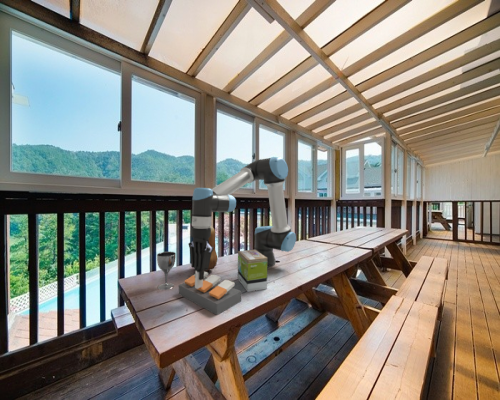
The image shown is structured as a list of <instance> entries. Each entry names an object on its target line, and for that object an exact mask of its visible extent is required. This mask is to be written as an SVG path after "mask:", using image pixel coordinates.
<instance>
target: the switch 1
mask: <svg viewBox="0 0 500 400" xmlns="http://www.w3.org/2000/svg"><path fill="white" fill-rule="evenodd" d="M205 277H207V278H208V277H209V272H208V271H207V272H205V271H204V278H205ZM183 283H185V284H187V285H189V286H194V285H195V273H194V274H192V275H191V276H190V277H188V278H186V279H185V280H184V281H183Z"/></svg>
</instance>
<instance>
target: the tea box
mask: <svg viewBox="0 0 500 400" xmlns="http://www.w3.org/2000/svg"><path fill="white" fill-rule="evenodd" d="M237 280H238V281H239V282H240V283H241V285H242V287H243V288H244V289H245V291H246V292H247V293H249V291H250V292H255V290H256V291H262V290H267V289H268V266H267V257H265V256H264V255H262V254H261V253H259V252H258V251H257V250H255V249H249V250H238V251H237Z"/></svg>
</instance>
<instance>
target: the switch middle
mask: <svg viewBox="0 0 500 400" xmlns="http://www.w3.org/2000/svg"><path fill="white" fill-rule="evenodd" d="M221 280H222V277H221V276H218V275H216V274H211V275H210V276H209V275H208V276H207V279H205V280H204V281H203V287H201V288H198V289H197V288H196V289H197V290H200V291H202V292H204V293H205V292H206V291H207V290H209V289H210V288H212V287H213V286H214V285H215V284H216V283H217V282H220V281H221Z"/></svg>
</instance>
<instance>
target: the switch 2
mask: <svg viewBox="0 0 500 400" xmlns="http://www.w3.org/2000/svg"><path fill="white" fill-rule="evenodd" d="M235 285H236V284H235V282H234V281H231V280H229V279H224V280H223V281H221V282H220V284H219V285H218V286H216V287H215V288H214V289H213V290H211V291H210V292H209V295H210V296H212V297H215V298H217V299H220V298H221V297H222V296H223V295H224V294H226V293H227V292H228V291H229V290H230V289H231V288H235Z"/></svg>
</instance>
